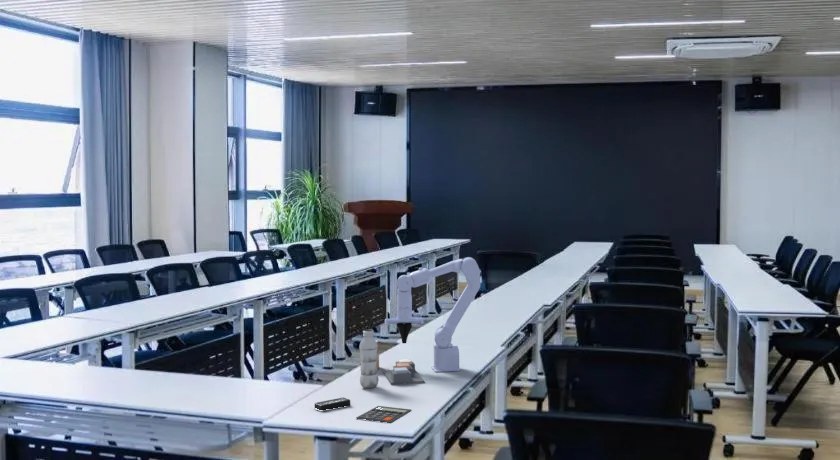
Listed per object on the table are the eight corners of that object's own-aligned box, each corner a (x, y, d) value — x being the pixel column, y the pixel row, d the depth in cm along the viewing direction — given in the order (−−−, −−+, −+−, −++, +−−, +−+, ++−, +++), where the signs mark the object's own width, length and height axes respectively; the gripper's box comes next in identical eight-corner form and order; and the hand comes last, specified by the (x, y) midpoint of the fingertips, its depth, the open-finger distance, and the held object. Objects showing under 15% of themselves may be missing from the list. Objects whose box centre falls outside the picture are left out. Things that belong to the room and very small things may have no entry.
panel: (414, 370, 316) (414, 360, 316) (424, 383, 297) (424, 372, 296) (382, 372, 314) (382, 362, 314) (391, 385, 294) (391, 374, 294)
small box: (374, 371, 316) (374, 344, 315) (360, 371, 317) (359, 343, 316) (379, 367, 324) (379, 340, 323) (365, 366, 325) (365, 339, 324)
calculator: (355, 417, 252) (378, 405, 266) (355, 420, 252) (378, 408, 266) (390, 421, 247) (411, 408, 261) (390, 424, 247) (411, 411, 261)
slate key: (405, 374, 301) (405, 367, 300) (408, 376, 296) (407, 369, 296) (393, 374, 300) (393, 367, 300) (395, 377, 295) (395, 370, 295)
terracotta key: (408, 369, 308) (407, 363, 308) (410, 372, 304) (410, 365, 303) (396, 370, 307) (396, 363, 307) (398, 373, 303) (398, 366, 303)
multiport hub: (314, 410, 264) (313, 402, 264) (343, 404, 271) (343, 397, 271) (321, 413, 261) (321, 405, 261) (351, 406, 268) (350, 399, 267)
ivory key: (410, 365, 315) (409, 358, 315) (412, 368, 311) (412, 361, 311) (398, 366, 314) (398, 359, 314) (400, 368, 310) (400, 362, 310)
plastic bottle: (381, 386, 293) (380, 329, 292) (374, 390, 287) (373, 332, 286) (364, 384, 295) (363, 328, 294) (356, 389, 289) (355, 331, 288)
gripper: (421, 305, 322) (420, 340, 322) (383, 306, 319) (383, 341, 320) (424, 307, 315) (424, 343, 316) (386, 308, 312) (386, 344, 313)
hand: (404, 342), depth 317 cm, fingers closed
